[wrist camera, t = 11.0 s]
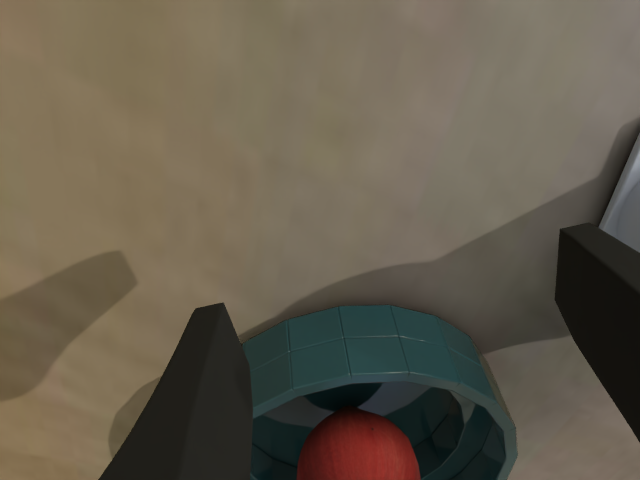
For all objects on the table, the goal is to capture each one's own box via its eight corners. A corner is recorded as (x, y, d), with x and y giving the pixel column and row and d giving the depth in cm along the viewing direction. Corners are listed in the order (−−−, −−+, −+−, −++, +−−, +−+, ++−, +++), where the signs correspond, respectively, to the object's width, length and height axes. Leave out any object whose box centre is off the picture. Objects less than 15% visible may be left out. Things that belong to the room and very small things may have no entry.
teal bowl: (518, 294, 27) (559, 367, 24) (454, 473, 36) (476, 545, 33) (194, 300, 25) (185, 380, 22) (211, 487, 34) (206, 565, 31)
